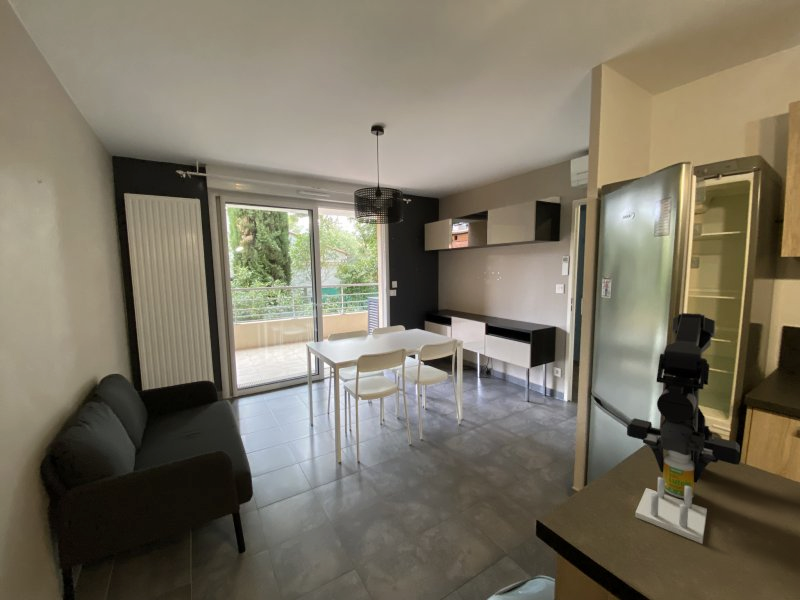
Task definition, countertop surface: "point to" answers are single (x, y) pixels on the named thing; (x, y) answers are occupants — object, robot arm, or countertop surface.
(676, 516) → the pin tray
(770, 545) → the countertop surface
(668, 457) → the supplement bottle
